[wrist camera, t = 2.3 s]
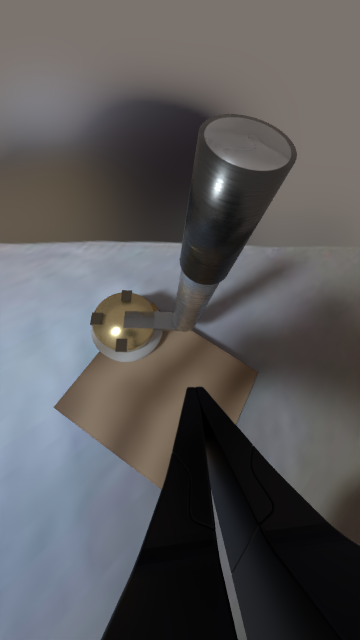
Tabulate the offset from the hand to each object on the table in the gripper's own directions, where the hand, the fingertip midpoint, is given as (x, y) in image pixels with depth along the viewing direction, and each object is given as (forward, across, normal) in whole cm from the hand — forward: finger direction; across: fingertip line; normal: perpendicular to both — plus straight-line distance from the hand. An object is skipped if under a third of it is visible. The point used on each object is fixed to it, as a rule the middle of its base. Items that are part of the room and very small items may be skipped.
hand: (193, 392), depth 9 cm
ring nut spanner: (+11, +3, +1) cm, 11 cm away
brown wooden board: (+8, +3, +7) cm, 11 cm away
